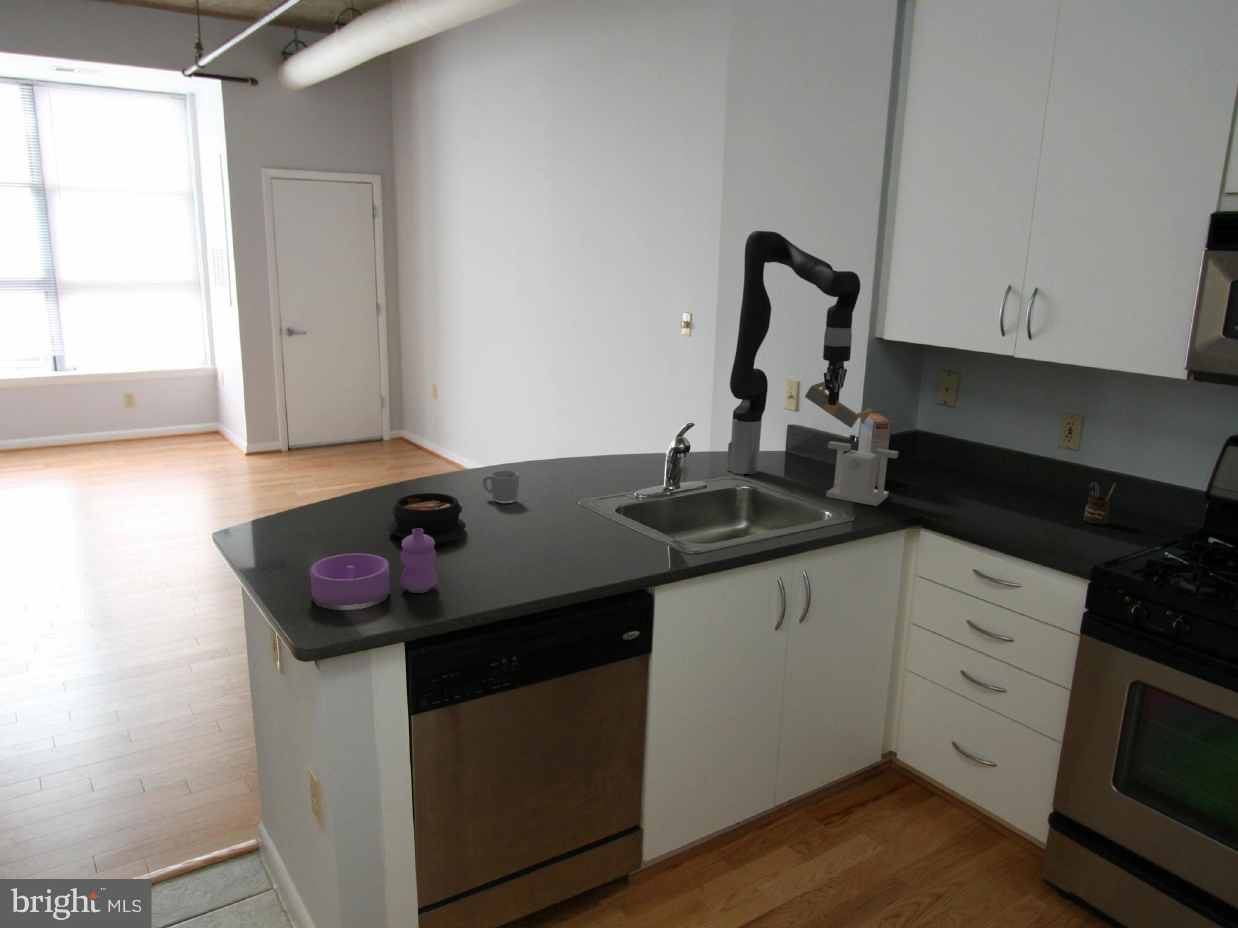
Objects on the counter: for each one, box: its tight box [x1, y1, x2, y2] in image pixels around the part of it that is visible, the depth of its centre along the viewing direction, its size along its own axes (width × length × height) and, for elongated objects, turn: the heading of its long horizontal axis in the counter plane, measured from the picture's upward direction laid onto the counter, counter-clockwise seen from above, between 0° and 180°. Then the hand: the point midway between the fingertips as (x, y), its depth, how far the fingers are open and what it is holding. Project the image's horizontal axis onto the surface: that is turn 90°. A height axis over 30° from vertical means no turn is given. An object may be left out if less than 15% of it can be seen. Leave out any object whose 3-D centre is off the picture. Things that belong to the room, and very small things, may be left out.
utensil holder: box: [1083, 482, 1117, 524], centre depth 246 cm, size 6×6×12 cm
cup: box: [482, 470, 520, 501], centre depth 248 cm, size 11×8×8 cm
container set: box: [309, 528, 438, 606], centre depth 182 cm, size 25×15×13 cm, turn 109°
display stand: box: [825, 441, 900, 507], centre depth 261 cm, size 20×15×15 cm
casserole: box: [388, 492, 467, 544], centre depth 220 cm, size 25×19×8 cm
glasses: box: [804, 381, 873, 429], centre depth 260 cm, size 16×14×4 cm
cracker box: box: [857, 412, 892, 488], centre depth 279 cm, size 14×6×21 cm, turn 179°
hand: (833, 404), depth 255 cm, fingers closed on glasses, 1 cm apart
